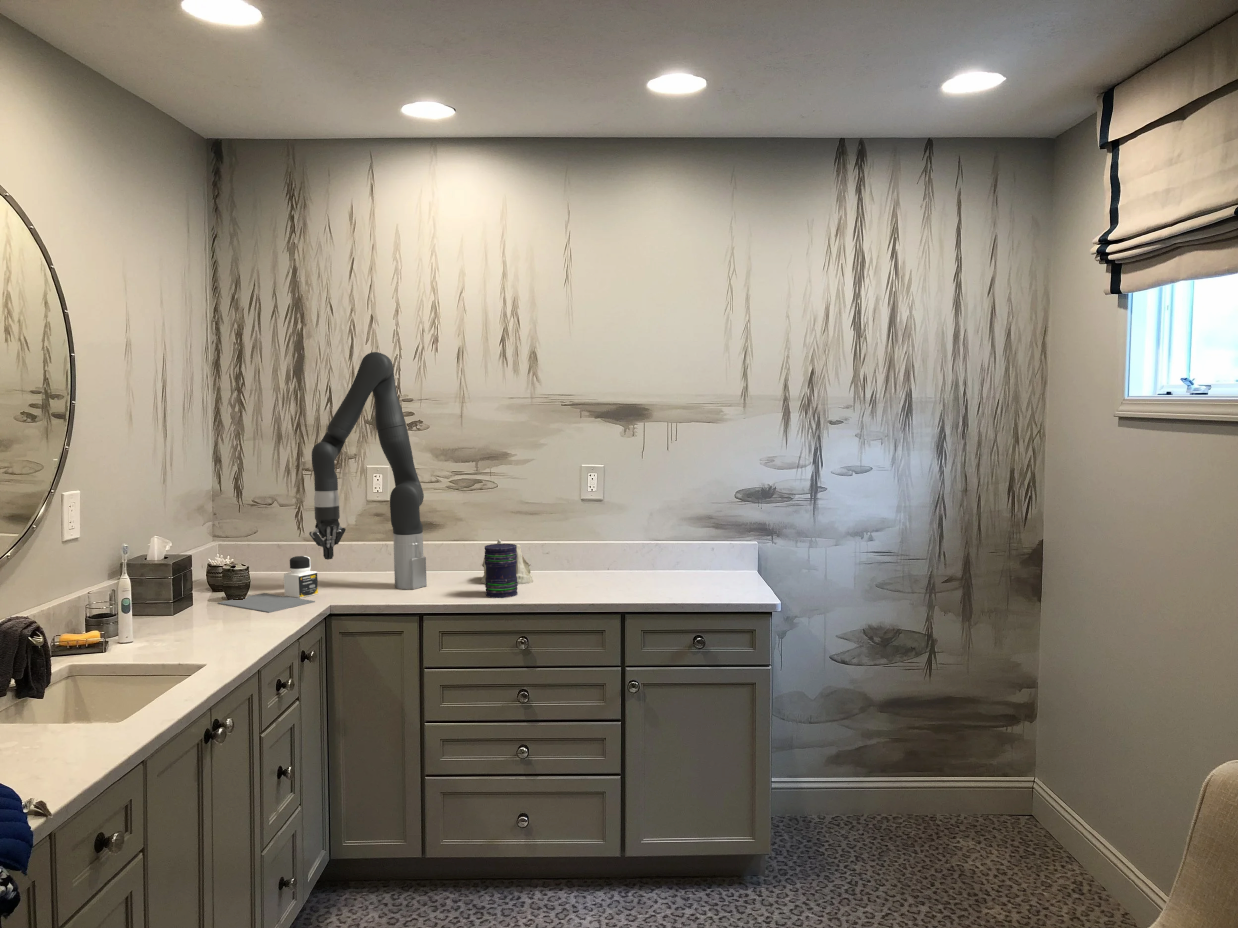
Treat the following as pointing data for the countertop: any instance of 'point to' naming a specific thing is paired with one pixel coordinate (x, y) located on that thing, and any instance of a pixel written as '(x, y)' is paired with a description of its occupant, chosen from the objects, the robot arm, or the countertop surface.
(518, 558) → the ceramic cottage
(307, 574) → the medicine bottle
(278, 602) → the rubber mat
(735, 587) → the countertop surface
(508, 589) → the storage jar
